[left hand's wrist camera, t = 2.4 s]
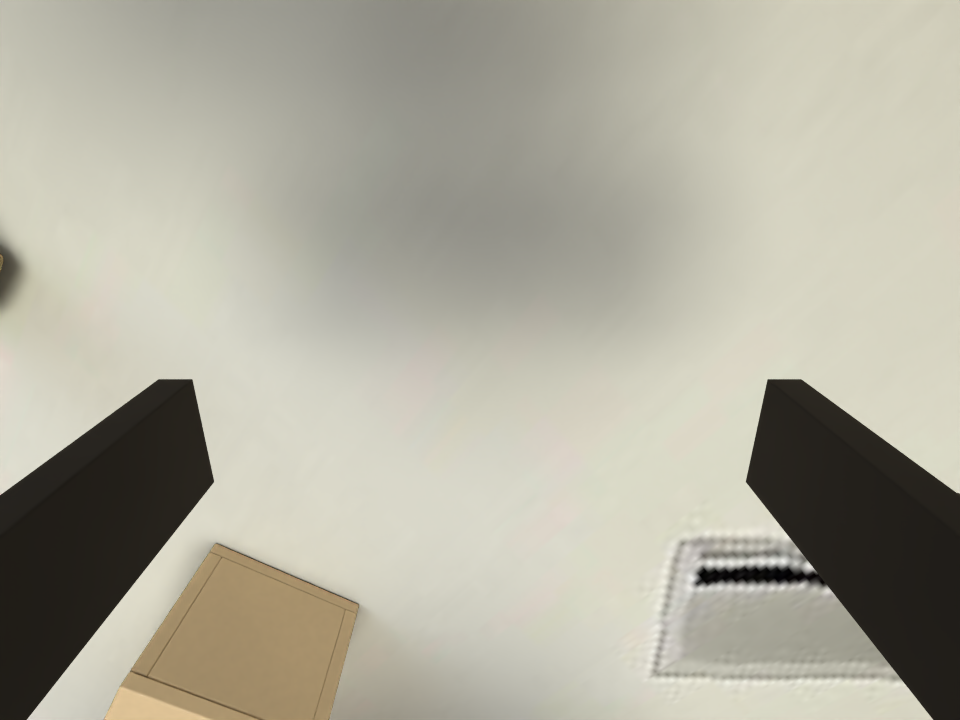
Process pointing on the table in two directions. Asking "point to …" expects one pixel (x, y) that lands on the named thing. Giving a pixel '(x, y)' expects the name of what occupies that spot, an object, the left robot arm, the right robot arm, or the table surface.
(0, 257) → the sculpture
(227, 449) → the table surface
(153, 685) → the lid
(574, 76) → the table surface
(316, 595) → the chest
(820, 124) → the table surface
